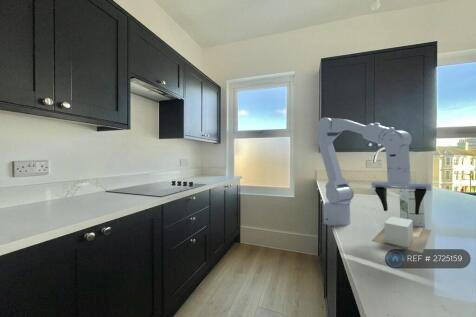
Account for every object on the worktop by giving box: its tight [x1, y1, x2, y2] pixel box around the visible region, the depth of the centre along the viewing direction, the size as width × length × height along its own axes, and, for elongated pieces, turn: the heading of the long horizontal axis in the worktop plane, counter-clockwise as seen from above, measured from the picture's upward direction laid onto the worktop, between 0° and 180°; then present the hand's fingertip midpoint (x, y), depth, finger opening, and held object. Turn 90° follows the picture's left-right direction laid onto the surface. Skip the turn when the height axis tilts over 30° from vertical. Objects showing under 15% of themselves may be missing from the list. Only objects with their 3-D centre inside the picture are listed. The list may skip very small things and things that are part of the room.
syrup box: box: [398, 187, 426, 228], centre depth 81 cm, size 6×6×14 cm
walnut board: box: [371, 226, 432, 254], centre depth 68 cm, size 12×24×1 cm, turn 132°
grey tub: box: [384, 216, 414, 248], centre depth 64 cm, size 6×9×6 cm, turn 132°
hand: (400, 212), depth 64 cm, fingers open, 7 cm apart
